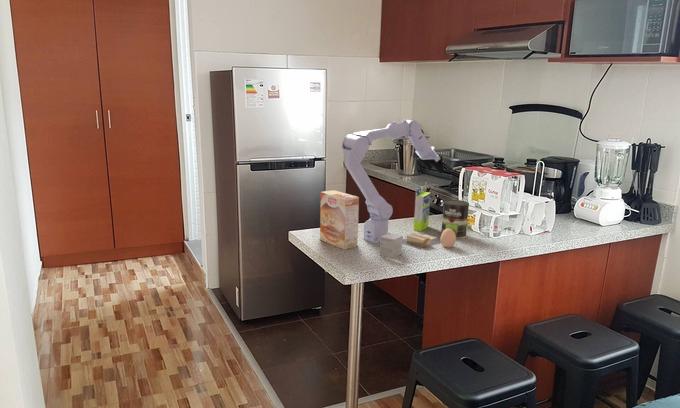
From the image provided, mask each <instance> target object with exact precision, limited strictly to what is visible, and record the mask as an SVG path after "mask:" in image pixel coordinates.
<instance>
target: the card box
mask: <svg viewBox="0 0 680 408" xmlns="http://www.w3.org/2000/svg"><path fill="white" fill-rule="evenodd" d="M406 239H407V241H406V243H409V244H413V245H416V246H419V247H422V249H424V248H423V247H425V248H427V247H426V246H429V247H431V246H430V238H429V237H426V236H422V235H421V234H419V233H415V232H414V233H409V234H407V235H406Z"/></svg>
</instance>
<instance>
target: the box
mask: <svg viewBox="0 0 680 408" xmlns="http://www.w3.org/2000/svg"><path fill="white" fill-rule="evenodd" d="M414 199H415V201H414V217H413V231H418V232H422V231H424V230H425V229H426V228H428V227H429V220H430V219H429V218H430V206H431V205H430V203H431V191H429V192H428V191H427V192H426V191H424V187H423V186H422V187H420V188H419V189H417V190H415V198H414Z"/></svg>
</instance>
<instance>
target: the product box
mask: <svg viewBox="0 0 680 408" xmlns="http://www.w3.org/2000/svg"><path fill="white" fill-rule="evenodd" d="M403 237H404V236H403V235H399V234H395V233H391V232H388V233H387V234H385V235H383V236H381V239H380V242H379V243H380V244H379V256H380V257H384V258H390V259H393V260H394V258H396V257H398V256H400V255H402V251H403V244H402V240H403Z"/></svg>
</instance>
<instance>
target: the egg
mask: <svg viewBox="0 0 680 408" xmlns="http://www.w3.org/2000/svg"><path fill="white" fill-rule="evenodd" d="M440 235H441V236H440V237H439V238H440V240H441V243H440V244H441V245H442V246H443V247H444V248H452V247H454V245H455V244H456V241H457V238H456V236H455V233H454V231H453V230H452V229H449V228H448V229H445V230H444V231H443V232H442V234H441V233H440Z"/></svg>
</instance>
